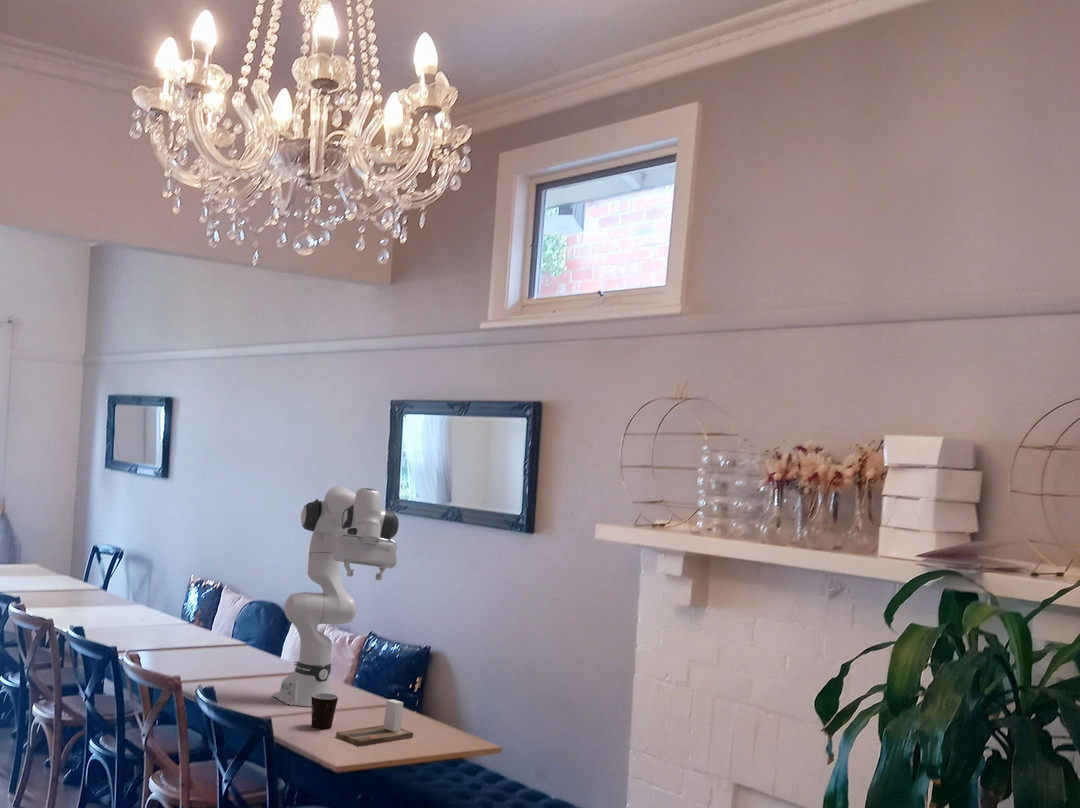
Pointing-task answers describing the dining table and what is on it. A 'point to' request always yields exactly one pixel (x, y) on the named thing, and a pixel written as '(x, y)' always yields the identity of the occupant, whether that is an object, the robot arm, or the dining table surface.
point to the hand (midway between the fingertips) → (364, 577)
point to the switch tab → (393, 715)
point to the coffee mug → (323, 710)
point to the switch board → (372, 735)
